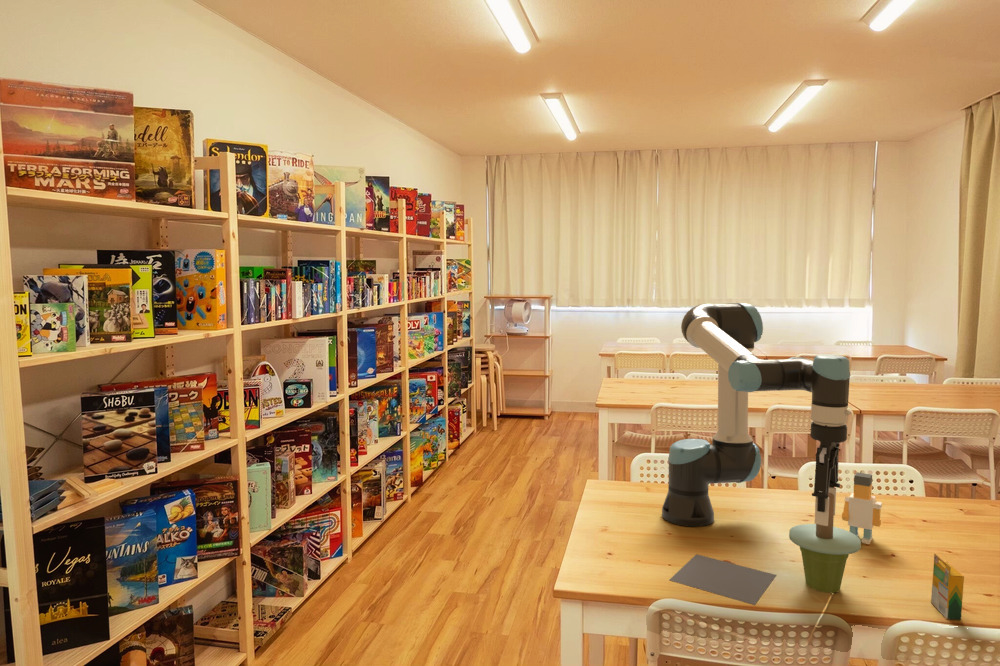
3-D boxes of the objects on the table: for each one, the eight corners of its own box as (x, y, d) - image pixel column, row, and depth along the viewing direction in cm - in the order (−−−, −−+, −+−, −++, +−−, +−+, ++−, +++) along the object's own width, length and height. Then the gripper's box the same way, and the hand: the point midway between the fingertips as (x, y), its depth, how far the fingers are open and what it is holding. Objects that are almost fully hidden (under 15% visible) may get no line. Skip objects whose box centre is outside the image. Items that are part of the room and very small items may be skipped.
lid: (782, 544, 153) (783, 497, 152) (797, 524, 165) (798, 480, 164) (855, 560, 144) (856, 510, 143) (865, 537, 156) (866, 491, 155)
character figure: (884, 544, 179) (888, 479, 178) (845, 543, 180) (848, 479, 178) (870, 533, 187) (873, 471, 185) (832, 532, 188) (835, 470, 186)
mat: (668, 582, 158) (668, 580, 158) (696, 556, 172) (696, 554, 172) (754, 607, 146) (754, 604, 146) (776, 577, 160) (776, 574, 160)
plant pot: (786, 575, 161) (788, 531, 160) (836, 576, 161) (837, 531, 160) (807, 599, 150) (809, 551, 148) (860, 600, 149) (862, 552, 148)
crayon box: (962, 620, 140) (965, 568, 139) (946, 619, 141) (949, 567, 140) (945, 603, 147) (948, 553, 146) (930, 602, 148) (933, 552, 147)
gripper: (838, 433, 141) (834, 536, 143) (854, 416, 157) (850, 509, 159) (801, 428, 146) (797, 529, 148) (820, 413, 162) (816, 503, 164)
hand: (825, 518), depth 154 cm, fingers open, 7 cm apart
